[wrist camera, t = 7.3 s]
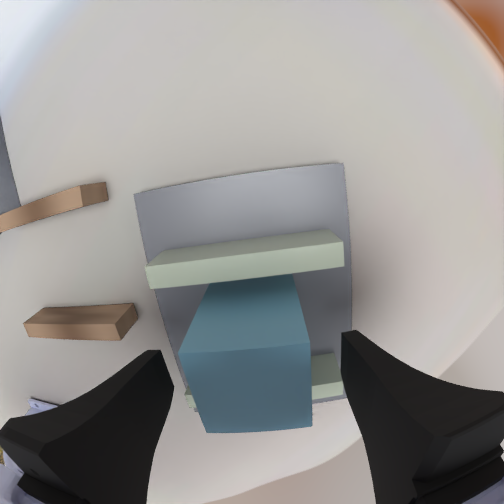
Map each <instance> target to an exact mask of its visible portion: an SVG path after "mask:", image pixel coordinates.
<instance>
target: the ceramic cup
mask: <svg viewBox="0 0 504 504" xmlns="http://www.w3.org/2000/svg"><path fill="white" fill-rule="evenodd" d="M0 464H3V465H4V464H5V462H4V458H3V449H2V448H1V446H0Z"/></svg>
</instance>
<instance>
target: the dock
mask: <svg viewBox="0 0 504 504" xmlns="http://www.w3.org/2000/svg"><path fill="white" fill-rule="evenodd" d="M134 199H135V205H136V210H137V215H138V220H139V225H140V230H141V235H142V240H143V244H144V249H145V253H146V257H147V262H148V264H147V265H146V266H145V267H144V268H145V272H146V276H147V280H148V283H149V287H150V289H155V293H156V297H157V300H158V304H159V308H160V311H161V315H162V318H163V321H164V325H165V328H166V331H167V334H168V338H169V341H170V344H171V347H172V350H173V353H174V356H175V359H176V362H177V365H178V368H179V371H180V373H181V376H182V379H183V382H184V385H185V387H186V392H185V397H186V400H187V402H188V405H189V407H190V408H194V411H195V412H198V409H197V407H196V404H195V402H194V399H193V396H192V393H191V391H190V388H189V385H188V382H187V379H186V376H185V374H184V371H183V368H182V365H181V362H180V359H179V355H178V352H179V349H180V347H181V345H182V343H183V340H184V338H185V336H186V334H187V331H188V329H189V327H190V325H191V323H192V320H193V318H194V316H195V314H196V312H197V309H198V307H199V305H200V303H201V301H202V298H203V296H204V294H205V292H206V290H207V288H208V285H209V283H216V282H225V281H233V280H242V279H251V278H259V277H267V276H275V275H283V274H291V273H292V275H293V279H294V283H295V286H296V290H297V294H298V297H299V301H300V305H301V309H302V313H303V317H304V320H305V324H306V328H307V332H308V336H309V340H310V352H311V380H312V404H315V403H321V402H327V401H333V400H339V399H344V398H347V396H346V393H345V389H344V385H343V381H342V377H341V373H340V370H341V332H347V331H352V274H351V248H350V230H349V216H348V203H347V193H346V183H345V174H344V165H343V163H335V164H323V165H312V166H302V167H293V168H284V169H276V170H268V171H260V172H253V173H246V174H239V175H232V176H226V177H219V178H213V179H207V180H202V181H196V182H191V183H185V184H180V185H175V186H170V187H165V188H160V189H155V190H150V191H146V192H141V193H137V194H134Z"/></svg>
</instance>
